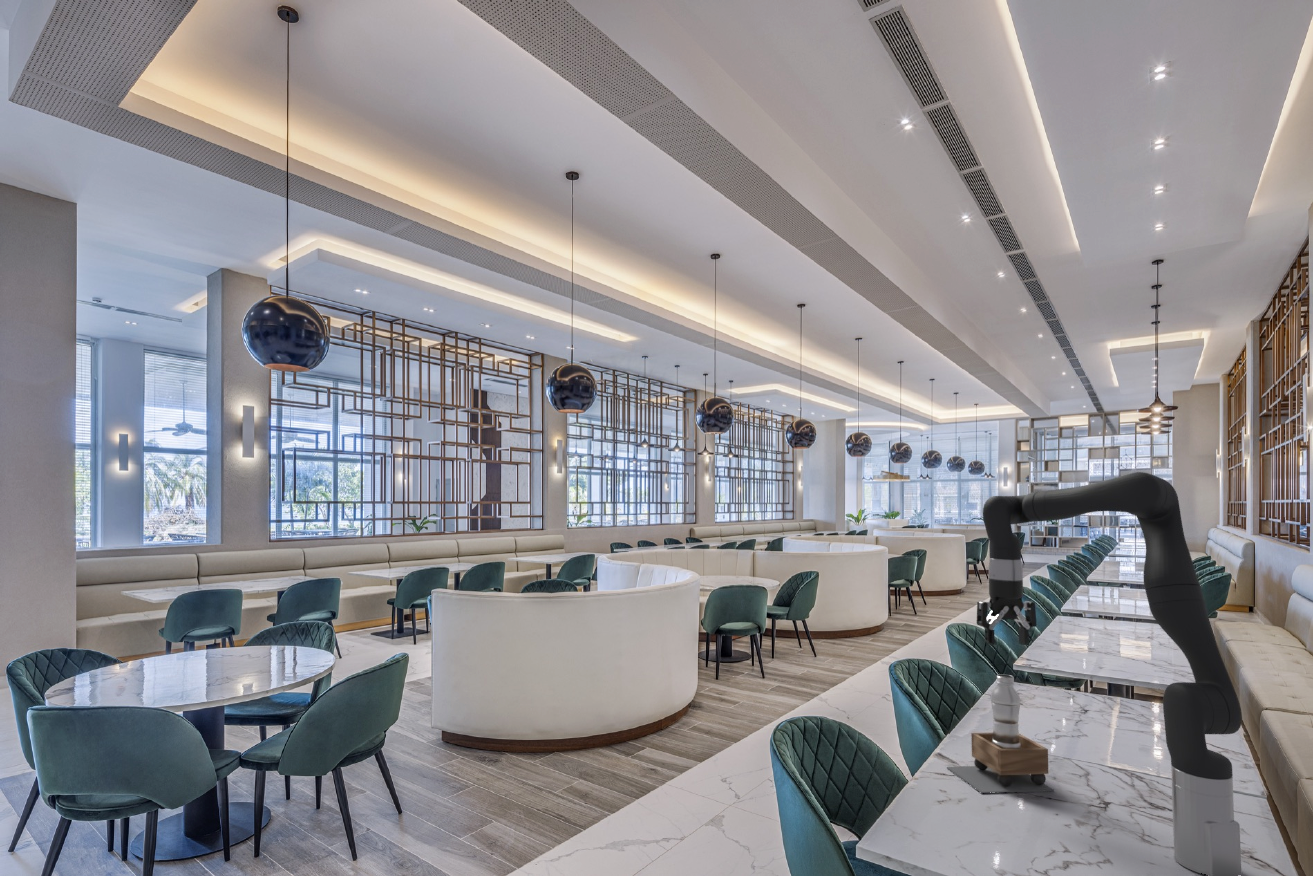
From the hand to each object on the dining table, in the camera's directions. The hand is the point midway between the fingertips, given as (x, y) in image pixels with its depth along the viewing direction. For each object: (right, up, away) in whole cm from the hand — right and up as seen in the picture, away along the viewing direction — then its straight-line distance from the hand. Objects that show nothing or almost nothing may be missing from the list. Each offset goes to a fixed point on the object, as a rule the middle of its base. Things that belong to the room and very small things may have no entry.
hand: (1006, 644), depth 174 cm
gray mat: (-3, -32, -2) cm, 32 cm away
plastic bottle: (-1, -28, -2) cm, 28 cm away
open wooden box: (0, -32, -2) cm, 32 cm away
